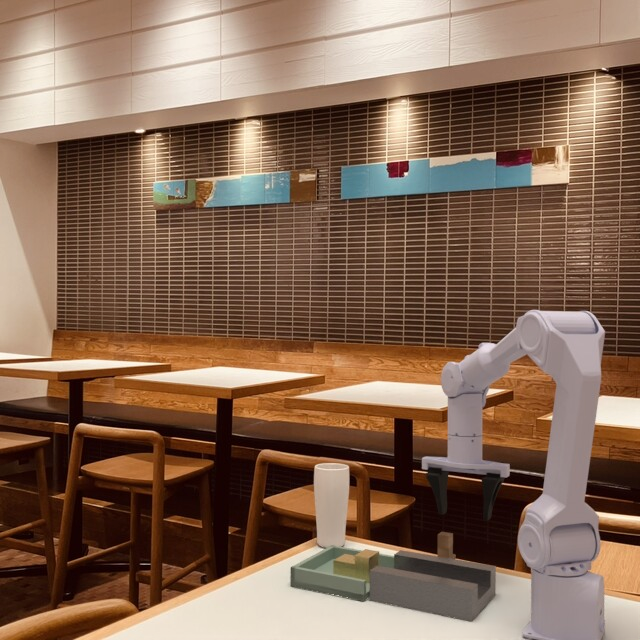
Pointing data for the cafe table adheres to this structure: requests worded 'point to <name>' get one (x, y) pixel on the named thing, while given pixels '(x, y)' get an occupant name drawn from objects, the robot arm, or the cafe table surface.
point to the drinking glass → (331, 503)
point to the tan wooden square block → (344, 565)
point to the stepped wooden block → (445, 545)
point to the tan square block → (365, 564)
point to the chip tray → (321, 578)
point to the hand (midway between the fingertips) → (464, 516)
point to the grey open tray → (434, 584)
